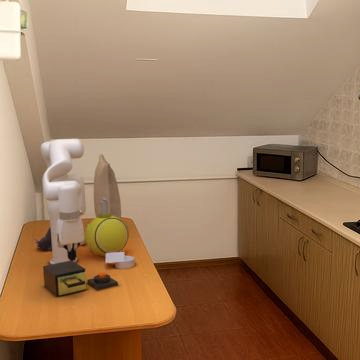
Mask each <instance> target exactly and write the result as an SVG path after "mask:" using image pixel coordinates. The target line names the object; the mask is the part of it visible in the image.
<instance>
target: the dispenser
mask: <svg viewBox="0 0 360 360" xmlns="http://www.w3.org/2000/svg"><path fill="white" fill-rule="evenodd" d="M42 272H43V285H44V288H45V289H47V290H48V291H49V292H50V293H51V294H53V295H54V296H55V297H60V296H65V295H69V294H74V293H78V292H82V291H86V290H87V288H86V289H84V290H80V291H76V292H72V293H67V294H63V295H58V283H57V277H58V276H62V275H67V274H71V273H76V272H85V273H86V268H84V267H83V266H82V265H80V264H79V263H77V262H74V261H66V262H61V263H56V264H46V265H43V266H42Z"/></svg>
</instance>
